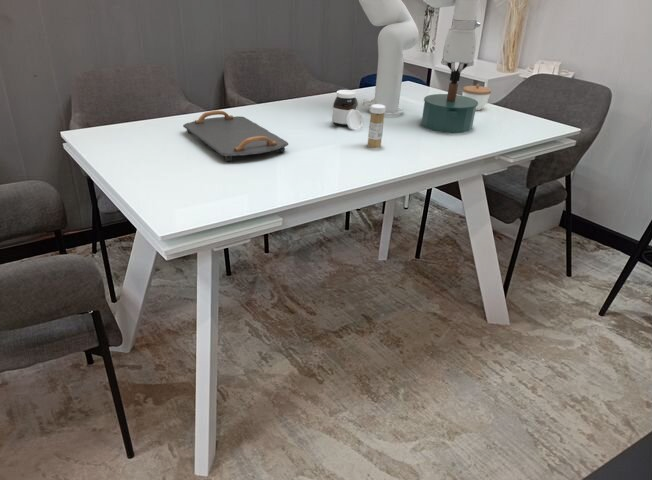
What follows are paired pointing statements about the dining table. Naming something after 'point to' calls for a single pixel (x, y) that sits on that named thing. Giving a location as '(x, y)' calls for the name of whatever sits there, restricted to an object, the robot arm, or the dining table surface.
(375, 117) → the sprinkles bottle
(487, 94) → the white lidded jar
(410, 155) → the dining table surface
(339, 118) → the spread jar
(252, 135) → the serving tray
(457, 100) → the tin lid
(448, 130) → the tin
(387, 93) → the robot arm
